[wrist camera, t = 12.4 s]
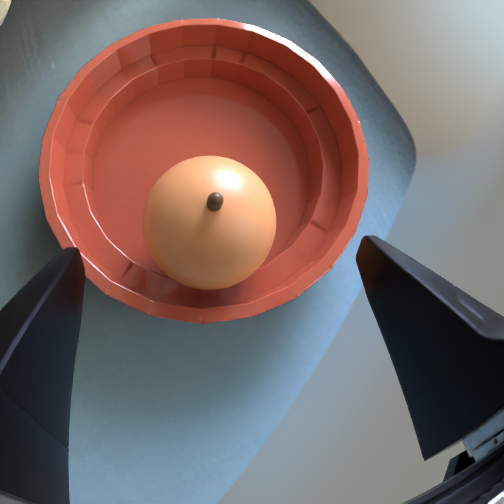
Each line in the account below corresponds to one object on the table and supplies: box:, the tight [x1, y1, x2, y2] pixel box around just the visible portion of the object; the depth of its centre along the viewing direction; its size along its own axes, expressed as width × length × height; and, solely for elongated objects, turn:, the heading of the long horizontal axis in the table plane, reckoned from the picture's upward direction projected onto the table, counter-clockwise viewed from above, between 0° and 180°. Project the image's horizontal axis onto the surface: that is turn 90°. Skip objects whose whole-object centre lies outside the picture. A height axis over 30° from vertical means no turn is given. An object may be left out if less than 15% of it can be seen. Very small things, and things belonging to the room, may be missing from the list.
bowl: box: [38, 19, 369, 324], centre depth 18 cm, size 18×18×5 cm
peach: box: [142, 156, 276, 290], centre depth 15 cm, size 6×6×8 cm
